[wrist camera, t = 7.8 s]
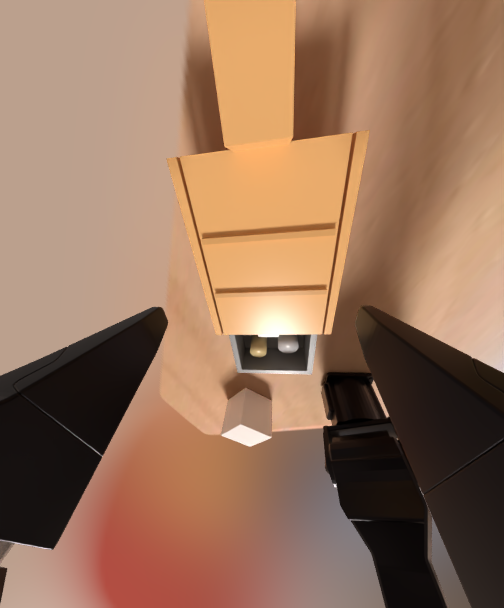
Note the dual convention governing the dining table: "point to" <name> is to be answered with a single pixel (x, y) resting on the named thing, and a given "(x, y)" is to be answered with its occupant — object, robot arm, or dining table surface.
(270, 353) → the tub
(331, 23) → the dining table surface
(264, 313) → the lid
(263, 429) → the white cube
